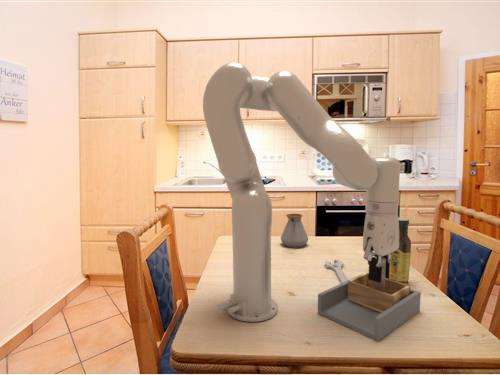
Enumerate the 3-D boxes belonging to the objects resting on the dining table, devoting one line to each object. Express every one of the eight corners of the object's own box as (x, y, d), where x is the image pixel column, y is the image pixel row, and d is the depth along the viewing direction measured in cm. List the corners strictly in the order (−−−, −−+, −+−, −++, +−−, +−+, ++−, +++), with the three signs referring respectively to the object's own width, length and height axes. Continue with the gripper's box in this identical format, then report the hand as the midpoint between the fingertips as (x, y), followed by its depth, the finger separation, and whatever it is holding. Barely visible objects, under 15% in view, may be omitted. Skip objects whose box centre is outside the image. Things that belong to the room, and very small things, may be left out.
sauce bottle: (382, 278, 104) (385, 216, 102) (401, 278, 104) (404, 215, 102) (392, 287, 98) (395, 220, 95) (413, 286, 98) (416, 220, 96)
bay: (378, 341, 71) (379, 319, 70) (317, 313, 83) (318, 294, 82) (419, 311, 84) (420, 291, 83) (362, 290, 96) (362, 273, 95)
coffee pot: (282, 240, 147) (282, 207, 146) (308, 241, 145) (309, 207, 143) (276, 256, 127) (276, 217, 125) (306, 257, 124) (307, 218, 123)
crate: (391, 316, 78) (394, 268, 77) (347, 299, 87) (348, 256, 86) (409, 304, 84) (411, 259, 83) (366, 289, 93) (367, 248, 92)
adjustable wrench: (356, 296, 94) (356, 290, 93) (332, 295, 94) (333, 289, 94) (341, 264, 118) (342, 259, 118) (323, 263, 119) (323, 259, 119)
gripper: (378, 214, 75) (375, 292, 77) (411, 205, 85) (408, 274, 87) (349, 209, 80) (347, 283, 83) (383, 202, 91) (381, 267, 93)
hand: (378, 278), depth 85 cm, fingers closed on crate, 3 cm apart
